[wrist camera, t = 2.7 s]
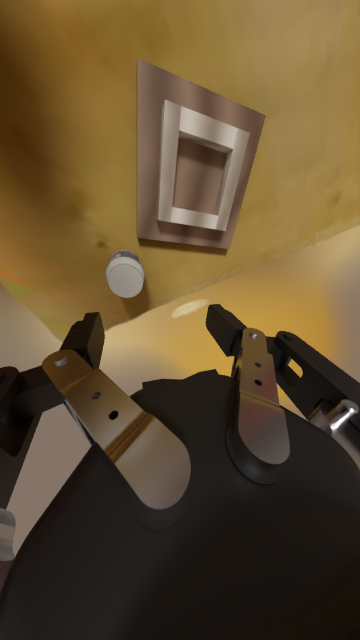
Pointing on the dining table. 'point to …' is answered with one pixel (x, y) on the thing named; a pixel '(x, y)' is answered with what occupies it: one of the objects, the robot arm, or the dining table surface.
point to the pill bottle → (125, 273)
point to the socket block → (190, 159)
